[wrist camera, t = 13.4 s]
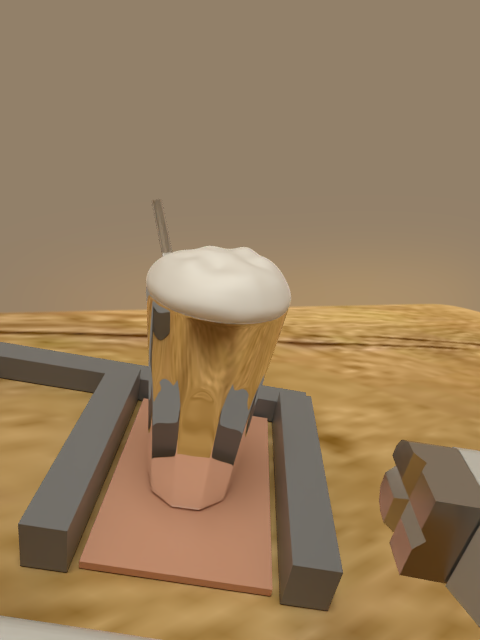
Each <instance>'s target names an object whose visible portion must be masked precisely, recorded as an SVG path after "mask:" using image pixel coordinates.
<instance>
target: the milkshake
mask: <svg viewBox="0 0 480 640" xmlns="http://www.w3.org/2000/svg"><path fill="white" fill-rule="evenodd" d="M152 206H153V211H154V216H155V221H156V226H157V231H158V236H159V241H160V246H161V251H162V256H163V257H161V258H160V259H158V260H157V261H156V262H155V263H154V264H153V265H152V266H151V268H150V269H149V271H148V274H147V278H146V285H147V287H146V288H147V290H146V292H147V331H148V359H149V395H148V473H149V479H150V485H151V490H152V492H154V493H155V494H156V495H158V496H159V497H160V498H161V499H163V500H164V501H165V502H166V503H168V504H169V505H170V506H171V507H179V508H187V509H194V510H201V509H203V508H205V507H208V506H210V505H212V504H215V503H217V502H220V501H222V500H223V499H224V497H225V495H226V493H227V491H228V489H229V487H230V485H231V483H232V481H233V478H234V475H235V472H236V468H237V465H238V462H239V459H240V455H241V452H242V449H243V445H244V442H245V439H246V436H247V432H248V429H249V426H250V423H251V419H252V416H253V413H254V409H255V406H256V403H257V400H258V396H259V393H260V390H261V387H262V384H263V381H264V378H265V375H266V372H267V370H268V367H269V364H270V361H271V358H272V355H273V353H274V350H275V347H276V344H277V341H278V338H279V335H280V332H281V329H282V326H283V324H284V321H285V318H286V315H287V312H288V308H289V306H290V302H291V294H290V289H289V286H288V284H287V281H286V279H285V278H284V276H283V274H282V273H281V271H280V270H279V269H278V268H277V267H276V265H274V263H272V262H271V261H270V260H269V259H267V258H265V257H263V256H260V255H258V254H257V253H256V252H255V251H253V250H252V249H250V248H247V247H239V248H235V249H224V248H220V247H216V246H205V247H201V248H198V249H193V250H180V251H175V252H173V253H172V248H171V243H170V238H169V233H168V228H167V223H166V218H165V213H164V207H163V203H162V200H161V199H156V200H152Z"/></svg>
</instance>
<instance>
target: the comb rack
mask: <svg viewBox="0 0 480 640" xmlns="http://www.w3.org/2000/svg"><path fill="white" fill-rule="evenodd" d="M0 377H1V378H7V379H13V380H19V381H25V382H31V383H37V384H44V385H50V386H56V387H62V388H68V389H74V390H81V391H87V392H93V393H94V394H93V395H92V397H91V399H90V401H89V402H88V404H87V406H86V408H85V409H84V411H83V413H82V414H81V416H80V418H79V420H78V421H77V423H76V425H75V427H74V428H73V430H72V432H71V433H70V435H69V437H68V439H67V440H66V442H65V444H64V446H63V447H62V449H61V451H60V452H59V454H58V456H57V458H56V459H55V461H54V463H53V465H52V466H51V468H50V470H49V471H48V473H47V475H46V477H45V478H44V480H43V482H42V484H41V485H40V487H39V489H38V490H37V492H36V494H35V496H34V497H33V499H32V501H31V503H30V504H29V506H28V508H27V510H26V511H25V513H24V515H23V516H22V518H21V520H20V522H19V523H18V529H19V548H20V566H27V567H34V568H40V569H47V570H54V571H61V572H67V571H68V568H69V566H70V563H71V561H72V558H73V556H74V554H75V551H76V549H77V546H78V544H79V542H80V539H81V537H82V534H83V532H84V529H85V527H86V525H87V522H88V520H89V517H90V515H91V512H92V510H93V508H94V505H95V503H96V500H97V498H98V496H99V493H100V491H101V488H102V486H103V483H104V481H105V479H106V476H107V474H108V471H109V469H110V467H111V464H112V462H113V459H114V457H115V454H116V452H117V450H118V447H119V445H120V442H121V440H122V437H123V435H124V433H125V430H126V428H127V425H128V423H129V421H130V418H131V416H132V413H133V411H134V408H135V406H136V404H137V401H138V400H142V404H141V406H140V409H139V411H138V414H137V417H136V419H135V422H134V424H133V427H132V429H131V432H130V434H129V437H128V439H127V442H126V444H125V447H124V449H123V452H122V454H121V457H120V459H119V462H118V464H117V467H116V470H115V472H114V475H113V477H112V480H111V482H110V485H109V487H108V490H107V492H106V495H105V497H104V500H103V502H102V505H101V507H100V510H99V512H98V515H97V518H96V520H95V523H94V525H93V528H92V530H91V533H90V535H89V538H88V540H87V543H86V545H85V548H84V550H83V553H82V555H81V558H80V560H79V568H84V569H91V570H97V571H104V572H111V573H118V574H124V575H131V576H138V577H145V578H152V579H158V580H165V581H172V582H179V583H185V584H192V585H199V586H206V587H212V588H219V589H226V590H233V591H240V592H246V593H253V594H260V595H267V596H271V593H272V559H271V525H270V490H269V456H268V421H271V422H272V429H273V452H274V475H275V497H276V520H277V543H278V566H279V588H280V604H285V605H292V606H299V607H306V608H312V609H319V610H326V611H328V609H329V606H330V604H331V601H332V599H333V596H334V594H335V591H336V589H337V586H338V584H339V581H340V579H341V576H342V574H343V570H342V565H341V559H340V554H339V548H338V543H337V537H336V532H335V526H334V521H333V515H332V510H331V504H330V499H329V493H328V488H327V482H326V477H325V471H324V466H323V460H322V455H321V449H320V444H319V438H318V433H317V428H316V422H315V417H314V411H313V406H312V400H311V396H306V393H305V392H299V391H293V390H287V389H281V388H275V387H269V386H263V385H262V387H261V390H260V393H259V396H258V400H257V403H256V406H255V409H254V413H253V416H252V419H251V423H250V426H249V429H248V432H247V436H246V439H245V442H244V445H243V449H242V452H241V455H240V459H239V462H238V465H237V468H236V472H235V475H234V478H233V481H232V483H231V485H230V487H229V489H228V491H227V493H226V495H225V497H224V499H223V500H222V501H220V502H217V503H215V504H212V505H210V506H208V507H205V508H203V509H201V510H194V509H187V508H179V507H171V506H170V505H169V504H168V503H166V502H165V501H164V500H163V499H161V498H160V497H159V496H158V495H156V494H155V493H154V492H152V490H151V485H150V479H149V473H148V395H149V367H148V366H142V365H136V364H130V363H124V362H118V361H112V360H106V359H100V358H94V357H88V356H82V355H76V354H70V353H64V352H58V351H52V350H46V349H40V348H34V347H28V346H22V345H16V344H10V343H4V342H0Z"/></svg>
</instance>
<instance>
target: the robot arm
mask: <svg viewBox="0 0 480 640" xmlns="http://www.w3.org/2000/svg"><path fill="white" fill-rule="evenodd" d="M392 456H393V458H394V461H395V464H396V466H395V467H393V468H392V469H390V470H389V471H387V472H386V473H385V475H384V478H383V481H382V483H381V487H380V497H379V503H380V512H381V515H382V519H383V522H384V523H385V524H386V525H387V526H388V527H389V528H390V529H391V530H392V531H393V532H394V533H393V536H392V538H391V540H390V545H391V549H392V552H393V555H394V558H395V562H396V565H397V568H398V571H399V575H402V576H408V577H413V578H418V579H424V580H429V581H434V582H440V583H445V584H446V587H447V588H448V590H449V591H450V592H451V593H452V595H453V596H454V597H455V598H456V599H457V601H458V602H459V603H460V604H461V605H462V607H463V608H464V609H465V610H466V612H467V613H468V614H469V615H470V616H471V618H472V619H473V620H474V621H475V622H476V624H477V625H478V626H479V627H480V452H479V451H478V450H471V449H463V448H456V447H452V448H451V447H444V446H438V445H432V444H426V443H420V442H413V441H407V440H401V441H400V442H399V443H398V445H397V446H396V448H395V451H394V453H393V455H392ZM0 640H160V639H153V638H146V637H140V636H133V635H126V634H120V633H113V632H106V631H100V630H93V629H86V628H80V627H73V626H66V625H60V624H53V623H46V622H40V621H33V620H26V619H20V618H13V617H7V616H0Z"/></svg>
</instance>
